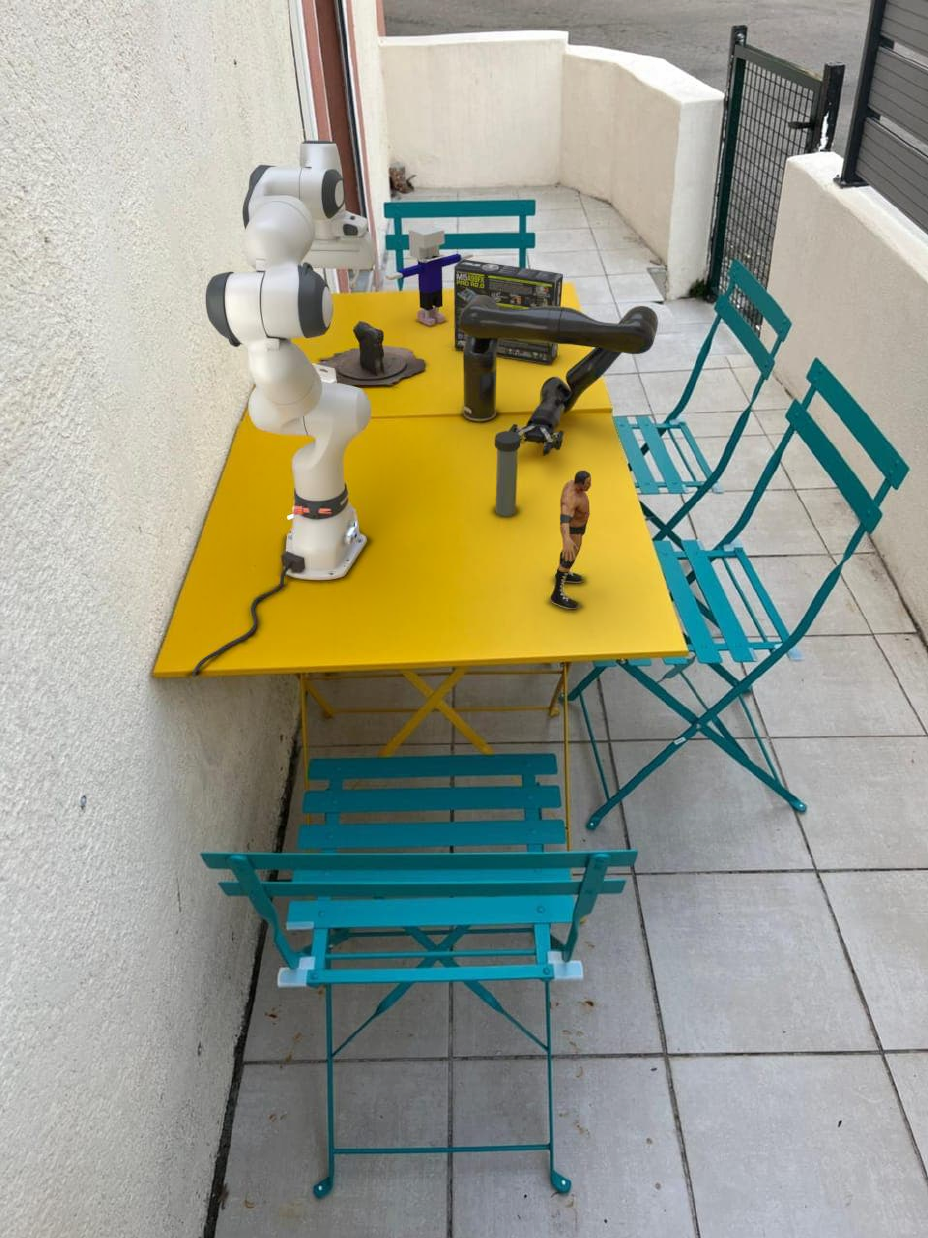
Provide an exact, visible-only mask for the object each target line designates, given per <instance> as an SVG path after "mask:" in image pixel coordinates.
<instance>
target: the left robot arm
mask: <svg viewBox="0 0 928 1238" xmlns="http://www.w3.org/2000/svg"><path fill="white" fill-rule="evenodd" d="M343 175H344V174H343V169H342V163H341V158H340V153H339V149H338V146H337V143H335V142H334V141H332V140H316V139H315V140H304V141H302V142H301V143H300V144H299V166H276V165H269V164H259V165H258V166H257V167H256V168H254V169H253V171H252V173H251V174H250V176H249V180H248V190H247V193H246V195H245V198H244V201H243V204H242V209H241V210H242V211H241V212H242V213H241V214H242V222H243V227H244V235H243V238H242V248H243V249H242V251H243V254H244V257H245V259H246V261H247V262H248V264H249V265H250V266H251V267H252V268H253V269H254V271H241V272H235V271H225V272H221V273H218V274H215V275H213V276H211V278H210V280H208V283H207V286H206V289H205V309H206V314H207V317H208V320H209V323H210V324H211V326H212V327H213V329H215V331H217V333H218V334H219V335H221V336H223V337H224V338H225V339H227V340H228V342H229V345H230V346H232V347H234V348H238V347H240V346H241V345H242V346H244V347H245V349H246V352H247V367H248V371H249V374H250V376H251V380H252V381H253V384H254V385H255V387H254V388H253V389H252V392H251V393H250V395H249V398H248V404H247V408H248V409H247V411H248V415H249V417H250V420H251V422H252V424H253V425H254V426H255V427H256V429H258V430H259V431H262V432H266V433H271V434H276V435H279V436H299V437H301V436H302V437H312V438H314V440H312V441H311V442H309V443H306V444H305V445H303V446H301V447H300V448H299V449H298V450H297V451H295V453H294V455H293V457H292V460H291V471H292V477H293V483H294V489H293V504H294V505H293V506H292V508H291V510H292V514H290V515H287V520H291V519H292V523H291V524H292V526H291V527H290V530H289V532H288V533H287V535H286V543H285V551H284V552H283V553H282V554H280V558H281V564H282V567H284V568H283V570H282V571H281V573H280V578H279V584H278V585H277V586H276V587H274V589H272V590H270V591H268V592H265V593H263V594H261V595H259V596H257V597H256V598H254V600H253V601H252V603H251V606H250V614H251V617H252V618H253V625H252V626H251V628H250V630H249V631H247V632H246V633H245V634H243V635H242V636H241V635H240V636H239V637H238V638H235V639H233V640H232V641H230V642H228V643H226V644H225V645H223V646H222V647H220V648H219V649H217V650H215V651H213V652H211V653H209V654H208V655H206V656H204V657H203V658H202V659H200V660H199V661H198V663H197V664H196V665H195V667H194V669H193V671H192V674H191V677H192V678H194V677H196V676H197V675H198V672H199V670H200V669H201V667H202V666H203V665H204V664H205V663H206V662H208V661H209V660H211V659H212V658H214V657H216V656H218V655H219V654H221V653H223V652H224V651H226V650H227V649H229V648H231V647H232V646H234V645H237V644H238V643H240V642H243V641H244V640H246V639H247V638H249V637H250V636H251V635H252V634H253V633H254V632H255V631H256V630H257V628H258V623H259V620H258V616H257V613H256V605H257V604H258V603H259V602H260V601H261V600H262V599H265V598H267V597H269V596H271V595H274V594H275V593H277V592H278V591H280V589H282V587H283V586H284V584H285V576H286V575H287V576H289V577H292V578H295V579H300V580H310V581H330V580H337V579H340V578H343V577H345V576H346V575H347V573H348V572H349V571H350V569H351V567H352V566H353V564H354V563H355V561H356V559H357V558H358V557H359V556H360V553H361V552H362V551H363V549H364V548H365V546H366V544H367V542H368V539H367V536H366V535H365V534H363V533H361V532H360V527H359V520H358V514H357V510H356V508H354V506H352V505H351V503H350V502H349V489H348V486H347V483H346V482H345V472H344V470H345V469H344V466H345V465H344V463H345V462H344V461H345V460H344V459H345V454H346V451H347V449H348V447H349V445H350V444H351V442H352V441H353V440H354V439H356V438H357V437H358V436H360V435H361V434H362V433H364V432H365V430H366V429H367V428H368V427H369V424H370V422H371V418H372V402H371V400H370V398H369V397H368V395H367V393H366V391H365V390H364V389H363V388H361V387H357V386H355V385H346V384H341V383H322V382H321V378H320V376H319V374H318V372H317V371H316V369H315V368H314V366H313V365H312V362H311V360H310V358H309V357H308V355H307V354H306V353H305V352H304V351H303V350H302V349H301V348H300V347H299V346H298V344H296V343H295V342H293V340H292V339H296V338H297V339H298V338H305V339H312V338H316V337H317V338H318V337H322V336H324V335H325V334H326V333H327V332H328V330H329V329H330V327H331V324H332V319H333V315H334V300H333V296H332V294H331V289H330V287H329V285H328V283H327V281H326V280H325V279H324V278H323V277H322V275H321V274H319V273H318V272H316V271H315V270H314V269H325V270H326V269H329V270H330V269H331V270H334V269H335V270H352V275H354V277H353V278H349V279H348V285H349V289H352V290H357V288H358V278H359V276H360V274H361V271H362V270H368V271H369V270H372V269H373V268H374V266H375V265H376V262H377V255H376V248H375V247H376V246H375V244H374V243H375V242H374V239H373V236H372V234H371V233H370V231H368V228H369V220H368V219H367V218H366V217H364V216H362V215H359V214H356V213H352V212H350V211H348V210H346V203H345V201H346V190H345V181H344V178H343V177H344V176H343Z"/></svg>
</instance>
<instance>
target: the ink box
mask: <svg viewBox="0 0 928 1238" xmlns="http://www.w3.org/2000/svg"><path fill="white" fill-rule="evenodd" d="M311 363H312V362H311ZM312 365H313V366H314V368H315V369H316V371H317V372H318V374H319V376H320V378H321V382H322V383H337V379H336V372H335V369H334V368H330V367H326V366H322V365H317V363H312ZM319 369H324V370H327V371H328V373H327V372H323V371H320V370H319Z"/></svg>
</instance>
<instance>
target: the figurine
mask: <svg viewBox="0 0 928 1238" xmlns="http://www.w3.org/2000/svg"><path fill="white" fill-rule="evenodd" d="M591 475H592V474H591V473H590V472H588V471H587V470H578V471H577V472H576V473H575V475H574V478H573V479H570V480H569V481H567V482H566V483H565V484H564V486H563V487H562V491H561V495H560V500H559V507H560V513H559V531H560V535H561V539H562V549H561V551H560V553H559V562H558V567H557V569H556V573H555V575H554V578H555V584H554V589H553V591H552V593H551V594H550V601H551V602H552V604H554V605H556V606H559V607H561V608H563V609H567V610H575V609H578V607H579V605H580V604H579V602H578V601H576V600H574V599H572V598H570V597H569V596H568V595H567V594H566V593H565V590H564V585H565V583H571V584H572V583H573V584H580V583H583V578H582V575H580V574H578V573H575V572H572V571H570V570H571V568H572V567H573V565H574V564H575V562H576V560H577V557H578V555H579V553H580V550H581V548H582V543H583V536H584V535H585V534H586V529H587V524H588V521H589V518H590V515H591V512H590V500H589V497H588V494H587V493H586V492H588V491H589V489H590V488H591V486H592V483H591V482H592V476H591Z"/></svg>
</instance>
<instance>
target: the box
mask: <svg viewBox="0 0 928 1238" xmlns="http://www.w3.org/2000/svg"><path fill="white" fill-rule="evenodd" d="M453 270H454V272H453V298H454V299H453V302H454V303H453V304H454V311H453V312H454V314H453V315H454V317H453V318H454V321H453V322H454V324H453V326H454V349H457V350H462V351H463V348H464V345H465V341H466V334H465V333H464V332H463V331H462V330H461V328H460V326H459V317H460V314H461V312H462V311H463V309H464V308H465V307H466V306H467V304H468V303H469V302H470V301H471V300H472V299H473V298H474V297H476V296H479V295H486V296H489V297H491V298H492V299H493V300H494V301H495V302H496V303H497V305H498V308H499V310H504V311H516V310H523V309H527V308H532V307H539V306H559V307H562V306H561V305H562V304H561V303H562V293H563V292H562V291H563V281H564V280H563V279H564V274H563V273H560V272H555V271H547V270H542V269H533V268H527V267H520V266H513V265H506V264H499V263H491V262H484V261H479V260H471V259H464V260H461V261H460V262H459V263H456V264H454V266H453ZM558 349H559V344H554V343H545V342H537V341H526V340H518V339H499V344H498V349H497V357H502V358H506V359H507V358H508V359H514V360H520V361H526V362H530V363H537V364H544V365H551V364H552V363H553V361H554V360H555V359H556V358H557V356H558Z"/></svg>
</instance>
